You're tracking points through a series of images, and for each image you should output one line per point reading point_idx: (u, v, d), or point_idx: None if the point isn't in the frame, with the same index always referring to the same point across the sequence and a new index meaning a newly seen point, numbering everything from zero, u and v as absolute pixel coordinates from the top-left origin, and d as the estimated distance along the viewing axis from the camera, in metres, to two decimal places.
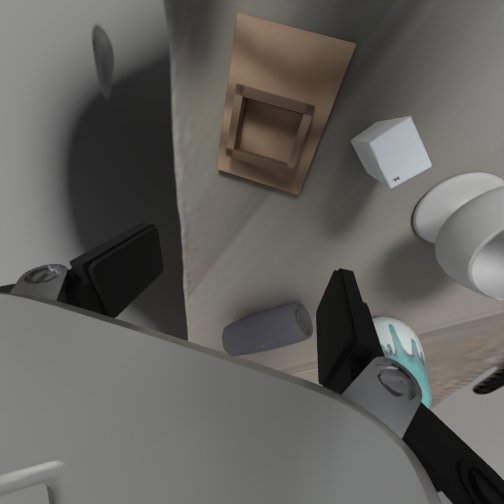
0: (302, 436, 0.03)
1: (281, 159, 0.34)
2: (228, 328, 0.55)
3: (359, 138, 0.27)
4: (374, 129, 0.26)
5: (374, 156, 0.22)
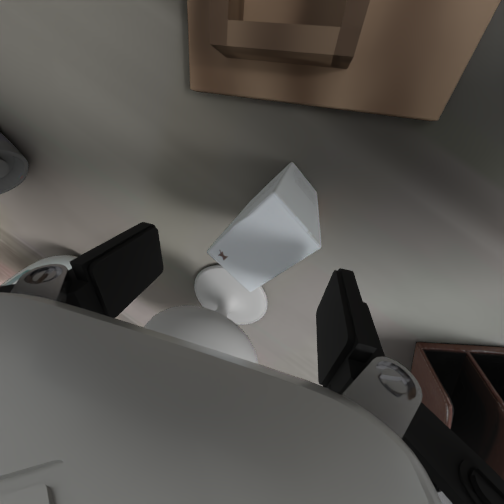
0: (302, 436, 0.03)
1: (247, 12, 0.15)
2: None
3: (292, 173, 0.16)
4: (304, 192, 0.16)
5: (252, 210, 0.11)
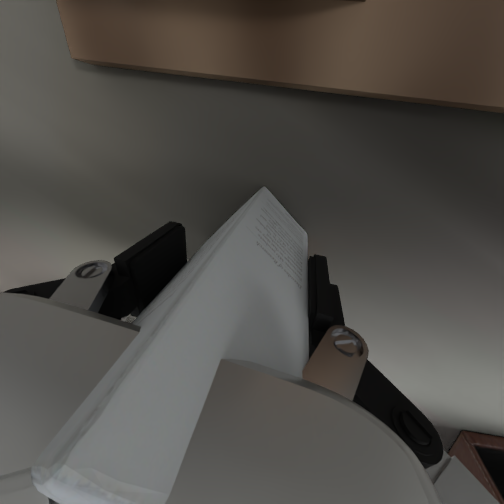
0: (302, 436, 0.03)
1: None
2: None
3: (254, 221, 0.08)
4: (279, 263, 0.07)
5: None
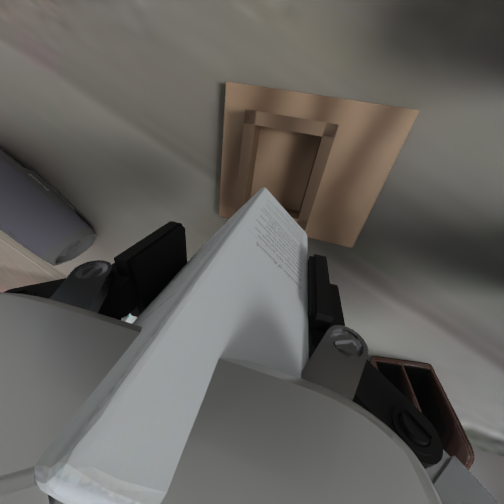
0: (302, 436, 0.03)
1: (253, 191, 0.28)
2: None
3: (253, 221, 0.08)
4: (279, 264, 0.07)
5: None
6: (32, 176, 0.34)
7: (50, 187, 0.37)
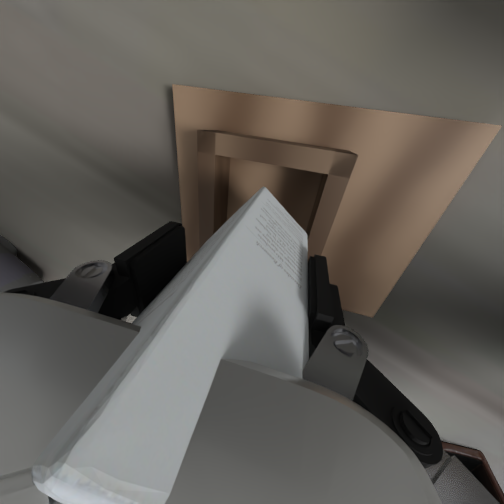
0: (302, 436, 0.03)
1: None
2: None
3: (253, 221, 0.08)
4: (279, 263, 0.07)
5: None
6: None
7: None
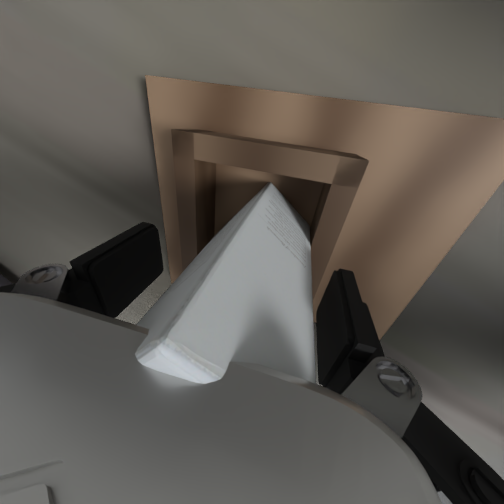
0: (302, 436, 0.03)
1: None
2: None
3: (263, 210, 0.09)
4: (286, 246, 0.09)
5: None
6: None
7: None
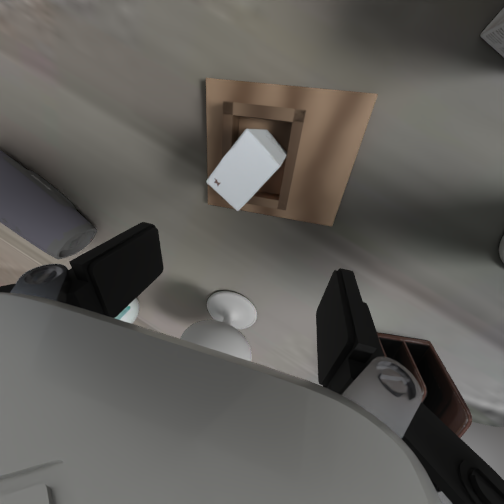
0: (302, 436, 0.03)
1: None
2: None
3: (264, 132, 0.22)
4: (274, 145, 0.22)
5: (234, 144, 0.17)
6: (34, 176, 0.36)
7: (51, 187, 0.39)
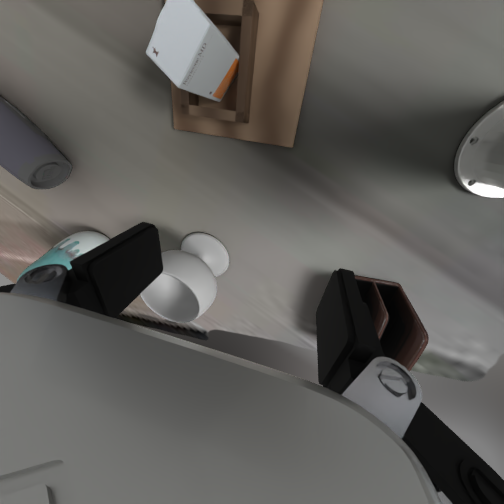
0: (302, 436, 0.03)
1: (200, 96, 0.30)
2: None
3: None
4: (221, 34, 0.22)
5: (166, 2, 0.17)
6: (9, 104, 0.37)
7: (27, 120, 0.40)
